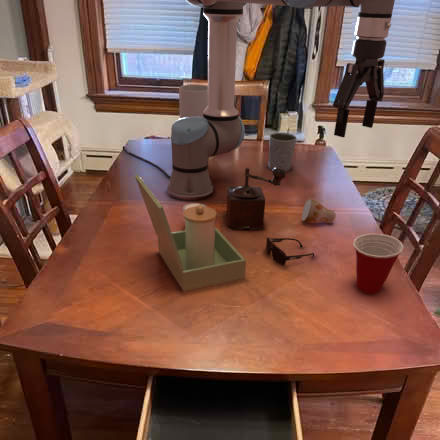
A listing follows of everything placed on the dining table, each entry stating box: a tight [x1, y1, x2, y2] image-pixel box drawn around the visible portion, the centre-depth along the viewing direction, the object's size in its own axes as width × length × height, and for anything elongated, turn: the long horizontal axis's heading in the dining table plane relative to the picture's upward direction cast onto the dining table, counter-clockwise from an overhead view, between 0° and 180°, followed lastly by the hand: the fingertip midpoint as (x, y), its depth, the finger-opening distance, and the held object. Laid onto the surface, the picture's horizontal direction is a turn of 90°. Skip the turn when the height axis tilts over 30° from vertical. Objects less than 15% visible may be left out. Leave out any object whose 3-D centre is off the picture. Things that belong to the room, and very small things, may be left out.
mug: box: [301, 198, 337, 224], centre depth 137 cm, size 8×10×10 cm
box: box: [157, 226, 247, 292], centre depth 114 cm, size 16×20×6 cm
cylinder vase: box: [178, 84, 208, 119], centre depth 184 cm, size 12×12×25 cm
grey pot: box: [267, 132, 297, 172], centre depth 175 cm, size 10×10×12 cm
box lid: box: [134, 174, 184, 272], centre depth 105 cm, size 16×20×1 cm
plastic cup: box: [352, 233, 404, 295], centre depth 107 cm, size 11×11×12 cm
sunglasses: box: [265, 236, 315, 266], centre depth 120 cm, size 10×12×5 cm
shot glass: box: [182, 202, 207, 224], centre depth 131 cm, size 7×7×7 cm
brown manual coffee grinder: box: [225, 167, 287, 231], centre depth 133 cm, size 16×11×18 cm
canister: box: [182, 205, 218, 270], centre depth 111 cm, size 8×8×16 cm
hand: (353, 131), depth 120 cm, fingers open, 13 cm apart
